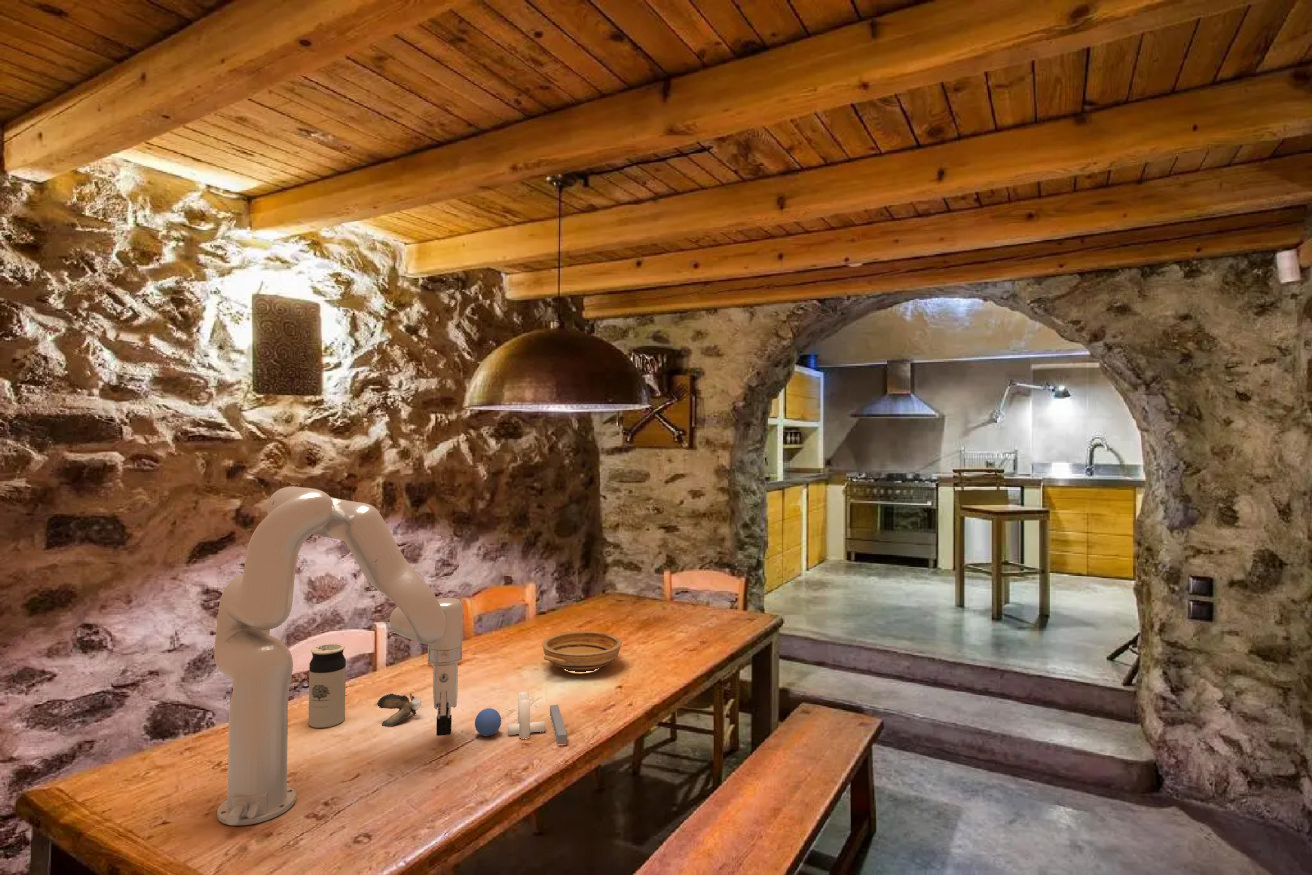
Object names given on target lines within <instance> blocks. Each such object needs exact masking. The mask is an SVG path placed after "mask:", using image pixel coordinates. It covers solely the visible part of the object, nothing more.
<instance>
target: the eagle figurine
mask: <svg viewBox="0 0 1312 875" xmlns="http://www.w3.org/2000/svg"><path fill="white" fill-rule="evenodd" d="M410 700H411V701H410ZM376 705H377V707H379V709H388V710H393V709H398V711H397V712H396V713H393V714H392V715H391V716H389V717H388V718H386V719H385V720H383V721H382V723H381V725H382V726H381V727H388V728H389V727H393V726H395V725H397V724H399V723H400V722H402V720H404V719H407V718H409V717H410V716H411V713H412V714H413V715H414V716H416V715H417V711H418V710H419V709H420V707H421V706H422V699H421V698H420V697H418V696H415V695H412V692H410V693H409V697H407V695H400V694H395V693H388V694H386V695H383V696H381V698H379V699H378V700H377V702H376ZM415 714H416V715H415Z"/></svg>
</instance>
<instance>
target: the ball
mask: <svg viewBox="0 0 1312 875" xmlns="http://www.w3.org/2000/svg"><path fill="white" fill-rule="evenodd" d="M501 724H502V718H501V715H500V713H499V711H497V710H496V709H494V708H490V707H489V708H484V709H482V710H480V711H479V713H477V715H476V717H475V719H474V728H475V730H476V732H477V733H478V734H479V735H481V736H482V737H483V736H484V737H490V736H493V735H494V734H496V733H497V732H498V731H499V729H500V727H501Z"/></svg>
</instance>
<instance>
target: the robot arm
mask: <svg viewBox="0 0 1312 875" xmlns="http://www.w3.org/2000/svg"><path fill="white" fill-rule="evenodd" d="M266 513H267V515H266V516H265V517H264V518H263V520H261V522H260V523H259V524H258V525H257V527H256V528H255V530H254V531H253V533H252V535H251V538H249V542H248V546H247V551H246V556H245V562H244V566H243V567H244V568H243V573H240V574H239V575H238V576H236V577H233V579H231V581H230V582H229V583H227V585H226V586H225V588H224V589H223V591H222V594H221V596H220V600H219V606H218V612H217V618H216V619H217V621H216V629H215V639H214V650H213V653H214V654H213V655H214V656H213V657H214V662H215V666H216V667H217V669H218V671H219V672H220V673H221V674H222V675H224V676H225V677H226V678H228V679H229V680H230V681H231V682H232V686H233V687H232V688H233V689H232V694H231V699H230V702H229V710H228V753H227V754H228V756H227V757H228V758H227V761H228V762H227V763H228V764H227V798H226V799H225V800H224V801H223V802H222V803H221V804H219V806H218V808H217V811H216V812H217V813H216V815H217V816H216V818H217V819H218V821H219V822H220V823H222V824H224V825H229V826H238V827H239V826H248V825H249V826H250V825H254V824H255V825H256V824H259V823H263V822H267V821H269V820H271V819H275V818H276V817H279V816H280V815H283V813H286V812H287V811H288V810H290V809H291V808H292V806H293V805H294V804H295V802H296V800H297V792H296V790H295V789H294V788H293V787H290V786H288V742H289V740H288V738H289V737H288V736H289V735H288V732H289V730H288V729H289V698H290V697H289V696H290V686H291V682H292V677H293V676H292V675H293V671H294V670H293V669H294V662H293V661H294V660H293V656H292V653H291V651H290V649H289V648H288V646H287V645H286V644H285V643H284V642H283V641H281V640H280V639H278V638H276V637H274V636H273V635H271V634H270V631H271V630H273V629H277V628H278V627H280V626H281V625H283V624H284V623H285V622H286V621H287V619H288V618H289V617H290V613H291V611H292V608H293V601H294V590H295V589H294V588H295V580H296V567H297V564H298V563H297V562H298V556H299V552H300V550H301V548H302V546H303V544H304V543H305V542H306V541H307V539H309V538H310V537H311V536H312V535H314V536H319V537H324V538H329V539H334V540H339V541H343V542H344V543H345V544H346V546H347V548H348V550H349V551H350V553H351V555H352V557H353V558H354V561H355V562H356V564H357V565H358V567H359V568H360V569H359V570H360V571H361V573H362V574H363V576H364V577H365V579H366V581H367V582H369V584H370V585H371V586H372V587H374V588H375V589H376V591H379V592H380V593H381V594H384V596H386V597H387V598H389V599H390V600H391V601H392V602H393V604H395V605H396V606H397V607H395V608H394V609H393V610H392V611H391V613H390V616H389V625H390V629H392V631H393V632H394V633H395V634H397V635H399V636H401V637H403V638H406V639H408V640H412V641H413V642H414V641H415V642H416V643H420V644H423V645H427V663H428V664H429V665H432V692H433V693H432V694H433V707H434V709H435V710H437V715H436V731H435V732H436V734H435V735H436V736H437V737H443V736H451V734H452V720H453V719H452V717H453V716H452V710H451V709H452V708H453V709H455V708H456V707H457V704H458V689H459V688H458V687H459V686H458V685H459V683H458V681H459V680H458V679H459V675H458V673H459V667H458V663H459V662H461V661H462V660H463V622H464V620H463V618H464V617H463V615H464V613H463V612H464V611H463V610H464V608H463V603H462V601H461V600H460V599H459V598H455V597H442V598H437V597H436V594H435V593H434V592H433V590H432V589H431V587H430V586H429V585H428V583H427V582H426V581H424V579H423V578H422V577H421V576H420V574H418V572H417V571H416V570H415V569H414V567H413V566H412V565H411V564H410V563H409V562H408V561H407V560H406V558H405V556H404V555H403V552H402V551H401V550H400V547H399V546H398V544H397V542H396V540H395V538H394V537H393V535H392V532H391V531H390V528H389V527H388V525H387V523H386V522H385V520H384V518H383V516H382V515H381V512H380V511H379V510H378V509H377V508H376V507H375V506H374V505H371V504H369V503H366V502H359V501H354V500H353V501H352V500H345V499H340V498H336V497H331V496H330V495H329V494H328V493H326V492H325V491H323V490H320V489H317V488H312V487H311V488H310V487H300V486H286V487H282V488H280V489H278V490H275V492H274V493H273V494H271V496H270V497H269V499H268V500H267V504H266Z"/></svg>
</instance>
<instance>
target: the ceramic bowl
mask: <svg viewBox="0 0 1312 875" xmlns="http://www.w3.org/2000/svg"><path fill="white" fill-rule="evenodd" d="M622 644H623V641H622V639H620V638H619V637H618V636H616V635H615V634H610V633H606V632H601V631H600V632H599V631H591V630H590V631H587V630H585V631H581V630H580V631H568V632H563V633H557V634H554V635H551V636H548V637H547V638H545V639H544V640H543V641H542V642H541V646H542V648H543V653H544V656H543V659H544V661H548V662H550V663H551V664H553V665H554V666H557V667H559V668H562V669H563V668H564V669H566V670H568V671H575V672H586V671H594V670H595V669H598V668H600V669H601V668H602V667H605V666H607V665H609V664H610V663H612V662H613V661H615V659H616V658H617V657H618V655H619V653H620V650H621V646H622ZM564 669H563V670H564Z"/></svg>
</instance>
